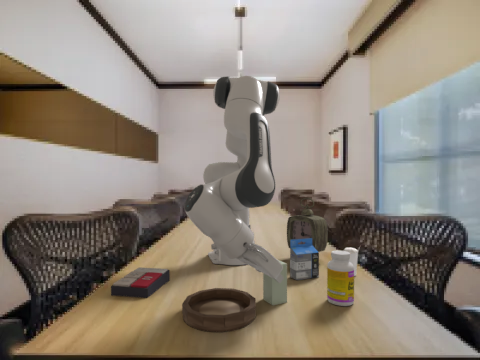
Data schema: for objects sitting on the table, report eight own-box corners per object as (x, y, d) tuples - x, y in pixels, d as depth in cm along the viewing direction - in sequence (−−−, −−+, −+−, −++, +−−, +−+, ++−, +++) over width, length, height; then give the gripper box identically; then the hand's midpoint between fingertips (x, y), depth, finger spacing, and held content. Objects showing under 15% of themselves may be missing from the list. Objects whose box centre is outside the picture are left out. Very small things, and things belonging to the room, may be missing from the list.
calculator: (109, 283, 80) (138, 265, 95) (110, 299, 81) (138, 278, 95) (147, 286, 78) (169, 267, 93) (147, 301, 79) (170, 280, 93)
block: (263, 299, 78) (263, 261, 78) (277, 296, 80) (277, 259, 80) (272, 305, 74) (272, 265, 74) (287, 302, 76) (287, 263, 76)
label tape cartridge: (296, 280, 92) (296, 241, 93) (289, 277, 96) (289, 239, 96) (319, 277, 96) (319, 239, 96) (312, 274, 99) (312, 237, 100)
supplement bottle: (351, 309, 72) (351, 256, 72) (324, 303, 75) (324, 253, 75) (356, 300, 77) (356, 251, 77) (331, 295, 81) (330, 248, 81)
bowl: (175, 306, 73) (175, 294, 73) (237, 295, 80) (237, 284, 80) (195, 339, 58) (195, 324, 58) (269, 321, 65) (269, 308, 65)
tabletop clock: (286, 258, 121) (286, 197, 121) (301, 254, 126) (300, 196, 126) (315, 265, 109) (315, 198, 110) (330, 261, 115) (329, 198, 115)
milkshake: (362, 277, 96) (362, 246, 96) (344, 276, 97) (344, 246, 97) (359, 273, 100) (359, 244, 100) (342, 272, 101) (342, 243, 101)
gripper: (265, 237, 64) (302, 276, 68) (228, 225, 82) (259, 256, 86) (247, 260, 62) (286, 298, 66) (213, 242, 80) (245, 273, 84)
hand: (270, 274), depth 76 cm, fingers open, 8 cm apart
